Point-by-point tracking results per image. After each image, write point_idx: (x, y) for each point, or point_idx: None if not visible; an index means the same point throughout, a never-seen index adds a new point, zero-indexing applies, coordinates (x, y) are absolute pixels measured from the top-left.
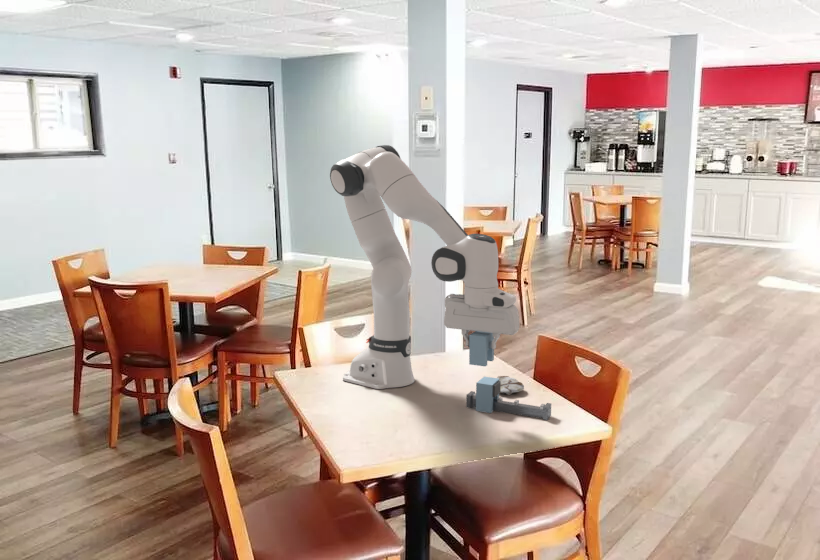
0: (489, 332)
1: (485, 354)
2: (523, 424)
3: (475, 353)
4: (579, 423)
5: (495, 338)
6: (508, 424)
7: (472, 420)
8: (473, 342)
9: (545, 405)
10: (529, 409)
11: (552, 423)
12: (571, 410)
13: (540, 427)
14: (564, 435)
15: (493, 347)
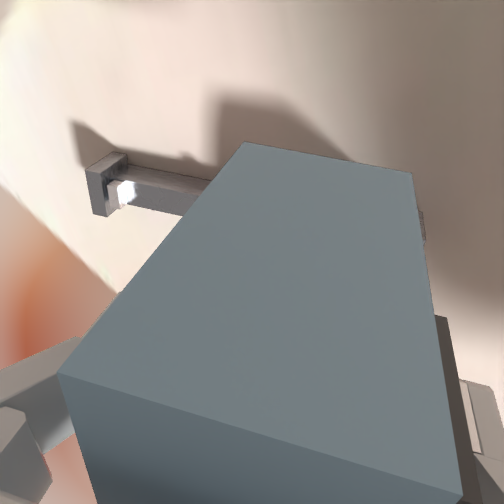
0: (2, 493)
1: (202, 194)
2: (167, 86)
3: (334, 220)
4: (27, 154)
5: (5, 382)
6: (218, 65)
7: (378, 60)
8: (354, 329)
9: (100, 190)
10: (164, 184)
11: (89, 129)
12: (90, 249)
13: (106, 75)
14: (9, 20)
15: (115, 298)
